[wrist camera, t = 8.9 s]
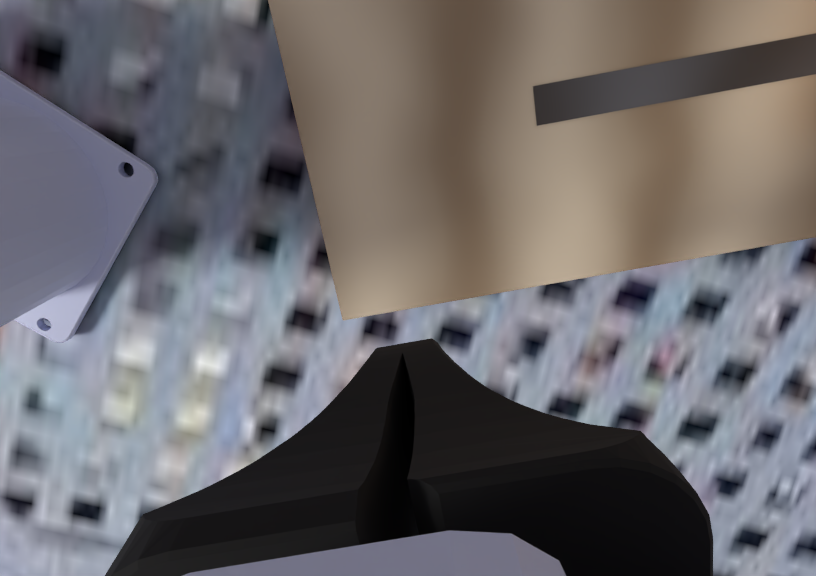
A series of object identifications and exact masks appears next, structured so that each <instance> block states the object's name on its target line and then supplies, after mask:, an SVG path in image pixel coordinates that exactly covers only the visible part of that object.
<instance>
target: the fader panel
mask: <svg viewBox="0 0 816 576" xmlns="http://www.w3.org/2000/svg"><path fill="white" fill-rule="evenodd" d="M268 2H269V7H270V11H271V15H272V19H273V24H274V28H275V32H276V36H277V41H278V45H279V49H280V54H281V58H282V62H283V66H284V71H285V75H286V79H287V84H288V88H289V92H290V96H291V101H292V105H293V109H294V114H295V118H296V122H297V126H298V131H299V135H300V139H301V143H302V148H303V152H304V156H305V161H306V165H307V169H308V173H309V178H310V182H311V186H312V191H313V195H314V199H315V203H316V208H317V212H318V216H319V221H320V225H321V229H322V233H323V238H324V242H325V246H326V250H327V255H328V259H329V263H330V268H331V272H332V276H333V280H334V285H335V289H336V293H337V298H338V302H339V306H340V310H341V315H342V319H343V320H348V319H354V318H359V317H365V316H371V315H376V314H382V313H388V312H393V311H399V310H405V309H410V308H416V307H422V306H427V305H433V304H439V303H444V302H450V301H456V300H461V299H467V298H473V297H478V296H484V295H490V294H496V293H501V292H507V291H513V290H518V289H524V288H530V287H535V286H541V285H547V284H552V283H558V282H564V281H569V280H575V279H581V278H586V277H592V276H598V275H603V274H609V273H615V272H620V271H626V270H632V269H637V268H643V267H649V266H655V265H660V264H666V263H672V262H677V261H683V260H689V259H694V258H700V257H706V256H711V255H717V254H723V253H728V252H734V251H740V250H745V249H751V248H757V247H762V246H768V245H774V244H779V243H785V242H791V241H797V240H802V239H808V238H814V237H816V0H268Z"/></svg>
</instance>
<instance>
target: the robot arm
mask: <svg viewBox="0 0 816 576" xmlns="http://www.w3.org/2000/svg"><path fill="white" fill-rule="evenodd" d="M126 162H127V163H130V164H131V165H132V166H133V169H134V173H133V175H132V176H129V175H127V174H126V173H125V171H124V164H125V163H126ZM157 182H158V175H157V173H156V171H155V169H154V168H153V167H152V166H151V165H149V164H148V163H146V162H144V161H143V160H141V159H140V158H138V157H136V156H135V155H133V154H132V153H130V152H129V151H127V150H125V149H124V148H122V147H121V146H119V145H118V144H116V143H114V142H113V141H111V140H110V139H108V138H107V137H105V136H103V135H102V134H100V133H99V132H97V131H96V130H94V129H92V128H91V127H89V126H88V125H86V124H85V123H83V122H81V121H80V120H78V119H77V118H75V117H74V116H72V115H70V114H69V113H67V112H66V111H64V110H62V109H61V108H59V107H58V106H56V105H55V104H53V103H51V102H50V101H48V100H47V99H45V98H44V97H42V96H40V95H39V94H37V93H36V92H34V91H33V90H31V89H29V88H28V87H26V86H25V85H23V84H22V83H20V82H18V81H17V80H15V79H14V78H12V77H11V76H9V75H7V74H6V73H4V72H3V71H1V70H0V327H1V326H3V325H5V324H7V323H9V322H10V321H12V320H15V321H16V322H18V323H20V324H22V325H24V326H26V327H28V328H29V329H31V330H33V331H35V332H37V333H39V334H40V335H42V336H44V337H46V338H48V339H50V340H52V341H54V342H57V343H63V342H65V341H67V340H69V339H70V338H71V337H72V336H73V335H74V334H75V332H76V330H77V329H78V327H79V325H80V323H81V321H82V320H83V318H84V316H85V314H86V312H87V310H88V309H89V307H90V305H91V303H92V301H93V300H94V298H95V296H96V294H97V292H98V291H99V289H100V287H101V285H102V283H103V281H104V280H105V278H106V276H107V274H108V272H109V271H110V269H111V267H112V265H113V263H114V262H115V260H116V258H117V256H118V254H119V252H120V251H121V249H122V247H123V245H124V243H125V242H126V240H127V238H128V236H129V234H130V232H131V231H132V229H133V227H134V225H135V223H136V222H137V220H138V218H139V216H140V214H141V213H142V211H143V209H144V207H145V205H146V203H147V202H148V200H149V198H150V196H151V194H152V193H153V191H154V189H155V187H156V185H157ZM44 318H45V319H48V320H49V321H50V323H51V327H50V326H47V325H46V324H45V323H44V321H43V319H44ZM105 576H713V535H712V529H711V523H710V517H709V514H708V512H707V510H706V508H705V507H704V505H703V503H702V501H701V499H700V498H699V496H698V494H697V493H696V491H695V490H694V489H693V488H692V486H691V485H690V484H689V482H688V481H687V480H686V479H685V477H684V476H683V475H682V474H681V472H680V471H679V470H678V469H677V468H676V467H675V466H674V465H673V463H672V462H671V461H670V460H669V459H668V458H667V457H666V456H665V455H664V454H663V453H662V452H661V451H660V450H659V449H658V448H657V447H656V446H655V445H654V444H653V443H652V442H651V441H650V440H649V439H648V438H647V437H646V436H645V435H644V434H643V433H642V432H641V431H636V430H629V429H621V428H613V427H605V426H597V425H590V424H585V423H581V422H576V421H572V420H568V419H563V418H559V417H556V416H552V415H549V414H545V413H542V412H540V411H537V410H534V409H531V408H529V407H526V406H523V405H521V404H518V403H516V402H514V401H511V400H509V399H507V398H505V397H503V396H502V395H500V394H498V393H496V392H494V391H492V390H490V389H488V388H487V387H485V386H484V385H482V384H481V383H480V382H478V381H477V380H475V379H474V378H473V377H471V376H470V375H469V374H468V373H466V372H465V371H464V370H463V369H462V368H461V367H460V366H458V365H457V364H456V363H455V362H454V361H453V360H452V359H451V358H450V357H449V356H448V355H447V354H446V353H445V352H444V351H443V350H442V348H441V347H440V346H439V344H438V343H437V342H436V341H435V340H433V339H426V340H420V341H415V342H409V343H403V344H397V345H392V346H386V347H380V348H376V349H375V351H374V352H373V353H372V354H371V356H370V357H369V358H368V360H367V361H366V362H365V364H364V365H363V366H362V367H361V369H360V370H359V371H358V373H357V374H356V375H355V376H354V377H353V379H352V380H351V381H350V382H349V384H348V385H347V386H346V387H345V388H344V389H343V390H342V391H341V392H340V393H339V394H338V395H337V397H336V398H335V399H334V400H333V401H332V402H331V403H330V404H329V405H328V406H327V407H326V408H325V409H324V410H323V411H322V412H321V413H320V414H319V415H318V416H317V417H315V418H314V419H313V420H312V421H311V422H310V423H309V424H307V425H306V426H305V427H304V428H302V429H301V430H300V431H299V432H298V433H296V434H295V435H294V436H292V437H291V438H290V439H288V440H287V441H285V442H284V443H282V444H281V445H279V446H278V447H276V448H275V449H273V450H272V451H270V452H269V453H267V454H266V455H264V456H263V457H261V458H260V459H258V460H257V461H255V462H253V463H252V464H250V465H248V466H246V467H245V468H243V469H241V470H239V471H238V472H236V473H234V474H232V475H230V476H228V477H226V478H224V479H223V480H221V481H219V482H217V483H215V484H213V485H211V486H209V487H207V488H204V489H202V490H200V491H198V492H196V493H193V494H191V495H189V496H186V497H184V498H182V499H179V500H177V501H174V502H172V503H170V504H167V505H165V506H163V507H160V508H158V509H156V510H153V511H150V512H148V513H145V514H143V516H142V517H141V519H140V520H139V522H138V523H137V525H136V526H135V528H134V529H133V531H132V533H131V534H130V536H129V538H128V539H127V541H126V542H125V544H124V546H123V547H122V549H121V551H120V552H119V554H118V555H117V557H116V559H115V560H114V562H113V563H112V565H111V567H110V568H109V570H108V572H107V573H106V575H105Z"/></svg>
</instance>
